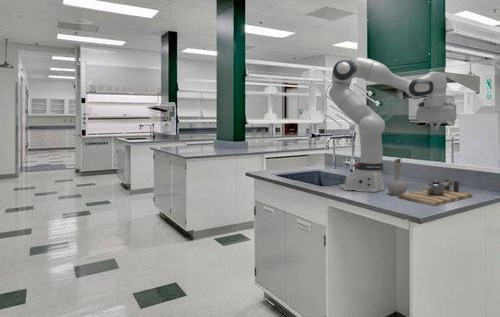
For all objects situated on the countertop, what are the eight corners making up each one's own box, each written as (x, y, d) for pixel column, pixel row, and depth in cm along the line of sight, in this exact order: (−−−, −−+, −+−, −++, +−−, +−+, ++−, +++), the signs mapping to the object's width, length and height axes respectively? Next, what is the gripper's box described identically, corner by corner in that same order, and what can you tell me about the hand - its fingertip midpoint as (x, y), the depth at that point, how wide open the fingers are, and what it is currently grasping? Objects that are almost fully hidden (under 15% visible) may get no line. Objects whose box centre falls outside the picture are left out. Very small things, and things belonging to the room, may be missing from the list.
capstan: (432, 197, 161) (433, 183, 160) (418, 194, 167) (419, 181, 166) (457, 192, 171) (457, 178, 171) (442, 189, 177) (443, 176, 177)
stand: (434, 205, 153) (435, 191, 152) (398, 198, 168) (398, 184, 167) (472, 196, 169) (473, 183, 168) (435, 190, 184) (436, 178, 183)
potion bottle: (404, 196, 170) (406, 159, 168) (385, 194, 175) (386, 158, 173) (407, 193, 178) (409, 157, 176) (388, 191, 182) (390, 157, 180)
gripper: (460, 102, 176) (458, 130, 177) (422, 104, 193) (421, 129, 195) (452, 102, 173) (451, 130, 174) (414, 104, 190) (413, 129, 192)
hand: (434, 130), depth 185 cm, fingers closed
